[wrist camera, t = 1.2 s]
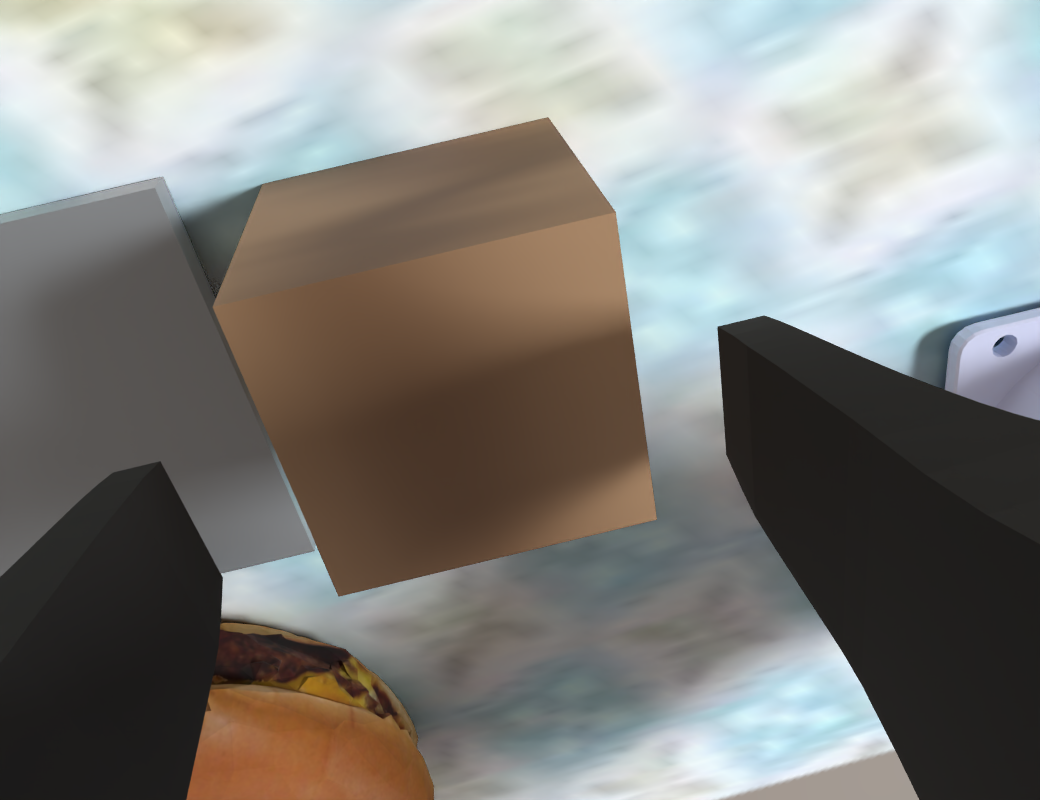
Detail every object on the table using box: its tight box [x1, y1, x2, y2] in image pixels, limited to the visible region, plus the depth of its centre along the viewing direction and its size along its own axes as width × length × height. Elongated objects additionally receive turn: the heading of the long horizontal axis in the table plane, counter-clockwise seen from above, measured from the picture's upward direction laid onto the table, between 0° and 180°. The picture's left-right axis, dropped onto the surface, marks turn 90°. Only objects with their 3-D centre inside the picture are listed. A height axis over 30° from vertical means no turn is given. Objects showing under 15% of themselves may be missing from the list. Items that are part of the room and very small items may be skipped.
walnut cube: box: [213, 118, 657, 596], centre depth 14 cm, size 5×5×5 cm
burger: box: [186, 623, 434, 800], centre depth 19 cm, size 10×9×5 cm
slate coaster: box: [0, 177, 315, 577], centre depth 16 cm, size 8×8×1 cm
